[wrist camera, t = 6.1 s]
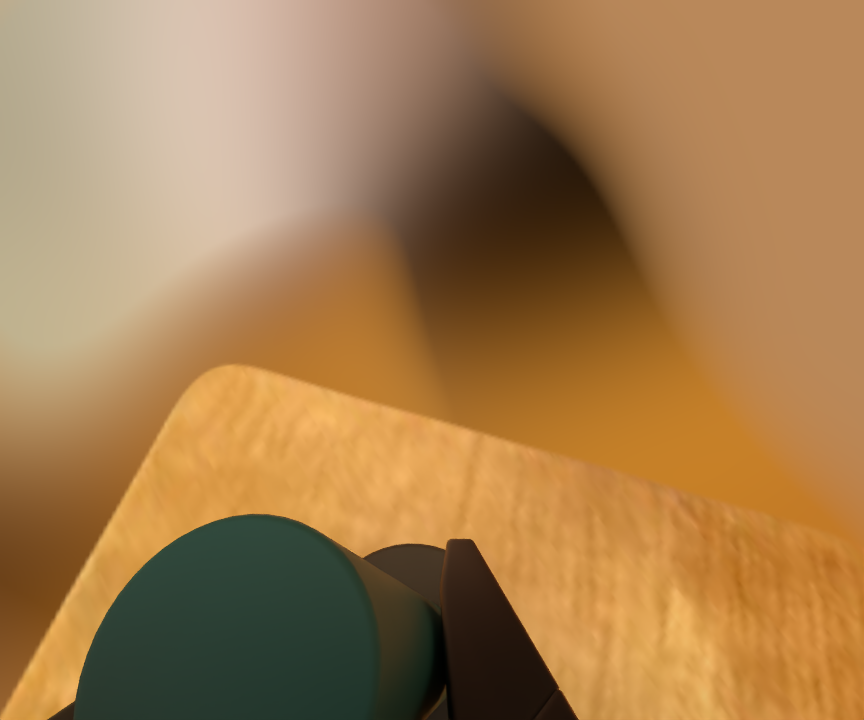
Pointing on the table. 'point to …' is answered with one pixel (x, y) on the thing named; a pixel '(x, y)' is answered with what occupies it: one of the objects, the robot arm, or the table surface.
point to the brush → (271, 631)
